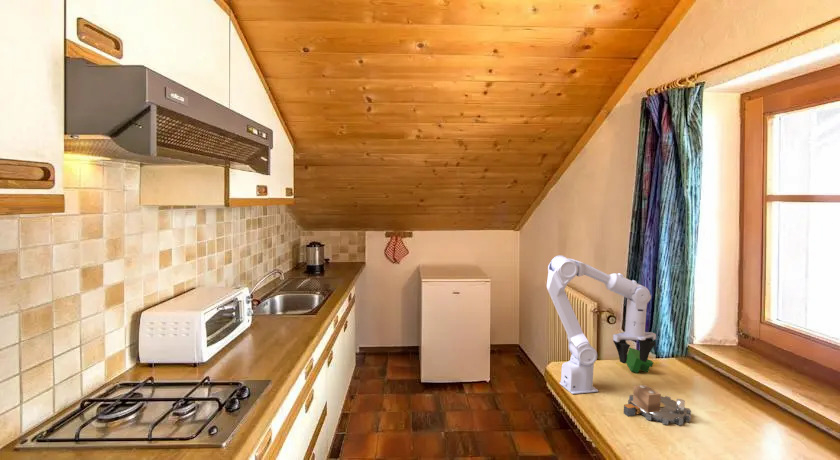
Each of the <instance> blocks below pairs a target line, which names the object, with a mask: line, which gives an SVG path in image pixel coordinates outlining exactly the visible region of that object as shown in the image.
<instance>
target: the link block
mask: <svg viewBox="0 0 840 460" xmlns="http://www.w3.org/2000/svg"><path fill="white" fill-rule="evenodd" d="M632 392H633V394H632V395H633V402H634V403H635V404H636V405H638V406H639V407H641V408H642V409H644V410H645V411H647V412H654V411H660V400H661V396H662V394H661V393H660V392H658V391H657V390H655V389H653V388H651V387H650V386H648V385H647V384H641V385H640V384H639V385H633V391H632Z"/></svg>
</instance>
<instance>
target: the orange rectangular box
mask: <svg viewBox="0 0 840 460" xmlns="http://www.w3.org/2000/svg"><path fill="white" fill-rule="evenodd" d="M635 408H636V407H635V406H634V405H632V404H628V403H626V404H623V414H624V415H625V416H627V417H633V416H634V417H635V416H636V413H635Z"/></svg>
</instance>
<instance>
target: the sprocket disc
mask: <svg viewBox="0 0 840 460" xmlns="http://www.w3.org/2000/svg"><path fill="white" fill-rule="evenodd" d="M628 398H629V399H628V401H627V404H632V405H634V406H635V407H636V408H635V415H642V416H643V417H645V419H646V420H648V421H652V420H653V421H657V422H661V423H662V425H667V426H668V425H669V424H676V425H677V426H682V425H684V422H688V423H690V422H691V421H692V420H691V419H692V410H691V409H690V408H688V407H685V405H686V402H685V400H684V399H681V398H676V400H674V399H672V398H671V397H670V396H667V395H665V396H663V395H661V400H660V411H654V412H647V411H645V410H644V409H642V408H641V407H639V406H638V405H636V404H635V403H634V402H633V394H630V395H629V396H628Z"/></svg>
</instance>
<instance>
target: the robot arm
mask: <svg viewBox="0 0 840 460" xmlns="http://www.w3.org/2000/svg"><path fill="white" fill-rule="evenodd" d="M547 272H548V273H547V281H546V289H547V292H548V294H549V297H550V298H551V301H552V303H553V305H554V308H555V310H556V312H557V314H558V315H557V316H558V317H559V319H560V321H561V323H562V326H563V328H564V330H565V333H566V335H567V337H566V338H567V341H568V350H569V352H570V353H571V356H570V358H569V359H570V360H568V361H566V362H563V363H562V365H561V368H560V370H561V376H560V381H559V384H560V385H561V387H563V388H564V389H566V390H567V391H568V392H569V393H570V394H572V395H576V394H577V395H579V394H588V393H589V394H590V393H599V390H598V389H597V388H596V387H594V385H593V383H594V364H595V363H596V361H597V359H598V352H597V350H596V349H595V348H594V347H593V346H592V345H591V343H590V342H589V340H588V338H587V337H586V335H585V334H584V332H583V330H582V327H581V325H580V322H579V319H578V318H577V316H576V313H575V311H574V309H573V306H572V304H571V302H570V300H569V298H568V296H567V293H566V287H567V286H568V284H569V283H570V282H571V281H572V280H573V279H574V278H575V277H582V276H586V277H589V278H591V279H593V280H596V281H598V282H600V283H603V284H604V286H605V288H606V289H607V290H608V291H610V292H613V293H614V294H617V295H620V297H623V298H626V312H625V313H626V314H625V328H624V331H623V332H619V333H613V335H612V341H613V344H614V347H616V350H617V354H618V358H619V362H620V363H623V364H626V365H627V363H626V361H627V354H628V351H629V348H631V344H629V343H628V342H629V341H638V345H639V351H640V360H642V361H643V362H646V361H647V358H648V359H649V355H650V354H651V351H652V350H653V348H654V347H655V346H656V341H655V340H656V339H657V333H654V332H652V331H650V332H649V331H646V322H647V321H646V320H647V307H648V303H649V302H650V300H652V295H651V292H650V290H649V288H648V287H646V286H644V285H642V284H640V283H637V281H636V280H634V279H632V280H630V279H629V278H626V277H624V274H622V273H620V272H618V273H616V272H615V273H610V274H607V273H606V272H604V271H602V270H600V269H598V268H595V267H593V266H592V265H590V264H587V263H585V262H583V261H580V260H577V259H573V258H571V257H569V258H568V257H566V256H565V255H562V254H561V255H556V256H554V257H553V258H552V259H551V261H550V262H549V263H548V266H547Z"/></svg>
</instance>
